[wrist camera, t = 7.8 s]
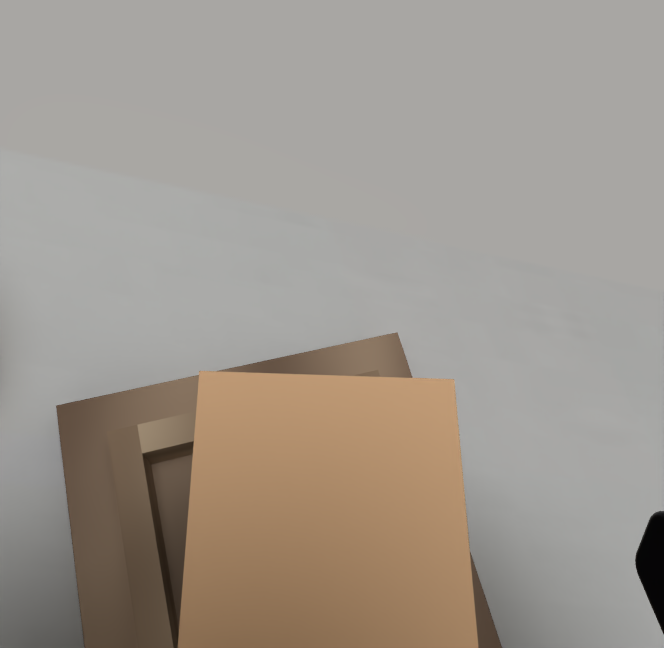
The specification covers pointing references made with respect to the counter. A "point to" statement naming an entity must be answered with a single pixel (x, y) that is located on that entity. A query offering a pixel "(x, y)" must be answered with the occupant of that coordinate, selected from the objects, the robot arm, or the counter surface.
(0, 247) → the counter surface
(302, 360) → the square recessed board
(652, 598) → the robot arm
